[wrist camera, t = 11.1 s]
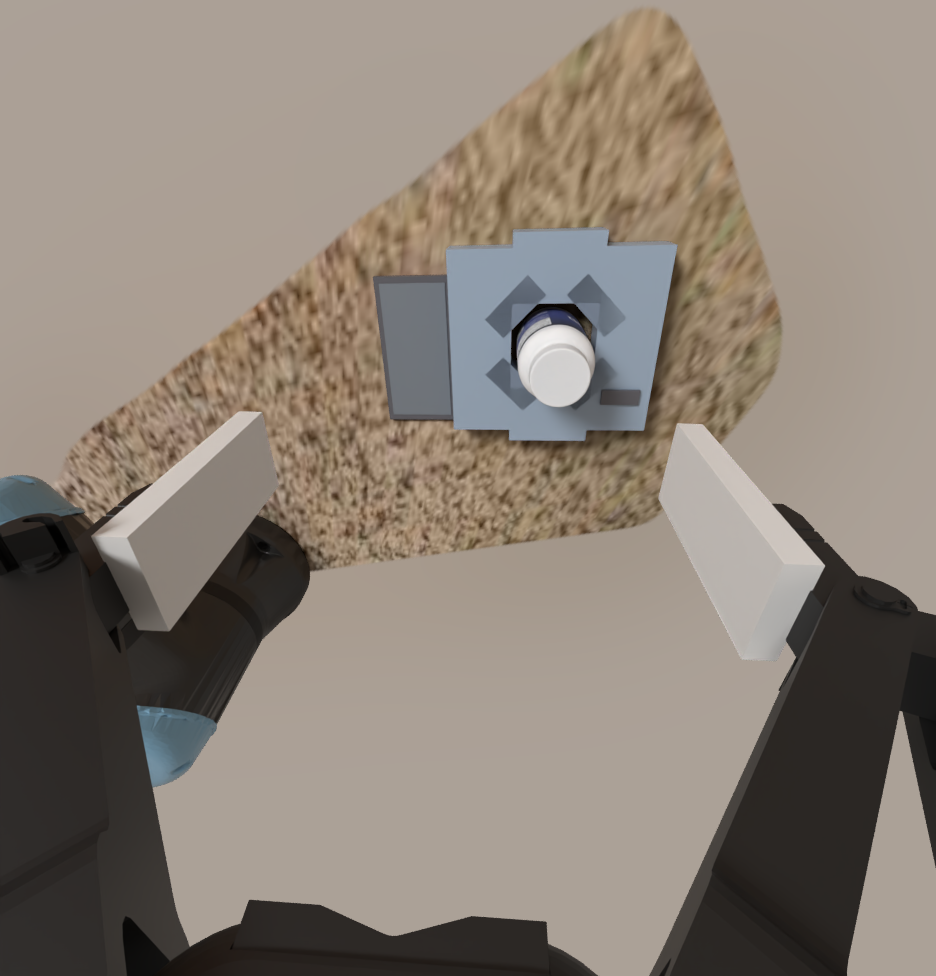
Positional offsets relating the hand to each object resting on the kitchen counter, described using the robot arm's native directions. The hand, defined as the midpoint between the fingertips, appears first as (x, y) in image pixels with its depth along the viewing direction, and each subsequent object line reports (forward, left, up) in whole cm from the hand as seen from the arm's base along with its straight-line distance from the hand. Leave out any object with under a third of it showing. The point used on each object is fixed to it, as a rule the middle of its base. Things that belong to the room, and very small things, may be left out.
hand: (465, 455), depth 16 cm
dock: (+5, -3, -27) cm, 27 cm away
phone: (-6, -4, -27) cm, 28 cm away
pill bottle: (+5, -3, -27) cm, 27 cm away
